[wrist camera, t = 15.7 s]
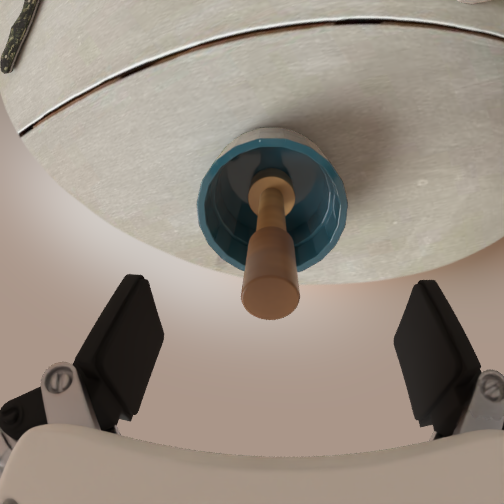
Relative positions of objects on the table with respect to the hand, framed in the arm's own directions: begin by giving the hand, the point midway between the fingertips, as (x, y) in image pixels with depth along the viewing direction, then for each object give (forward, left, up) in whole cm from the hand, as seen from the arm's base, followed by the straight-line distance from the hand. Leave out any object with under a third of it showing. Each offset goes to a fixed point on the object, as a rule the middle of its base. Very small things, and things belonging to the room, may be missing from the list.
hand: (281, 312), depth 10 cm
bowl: (0, 0, -14) cm, 14 cm away
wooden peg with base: (0, 0, -14) cm, 14 cm away
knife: (+22, -24, -13) cm, 35 cm away
